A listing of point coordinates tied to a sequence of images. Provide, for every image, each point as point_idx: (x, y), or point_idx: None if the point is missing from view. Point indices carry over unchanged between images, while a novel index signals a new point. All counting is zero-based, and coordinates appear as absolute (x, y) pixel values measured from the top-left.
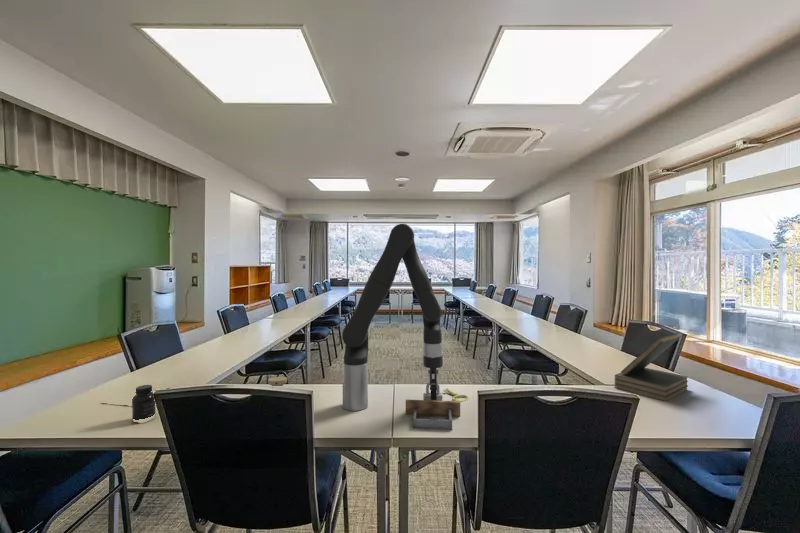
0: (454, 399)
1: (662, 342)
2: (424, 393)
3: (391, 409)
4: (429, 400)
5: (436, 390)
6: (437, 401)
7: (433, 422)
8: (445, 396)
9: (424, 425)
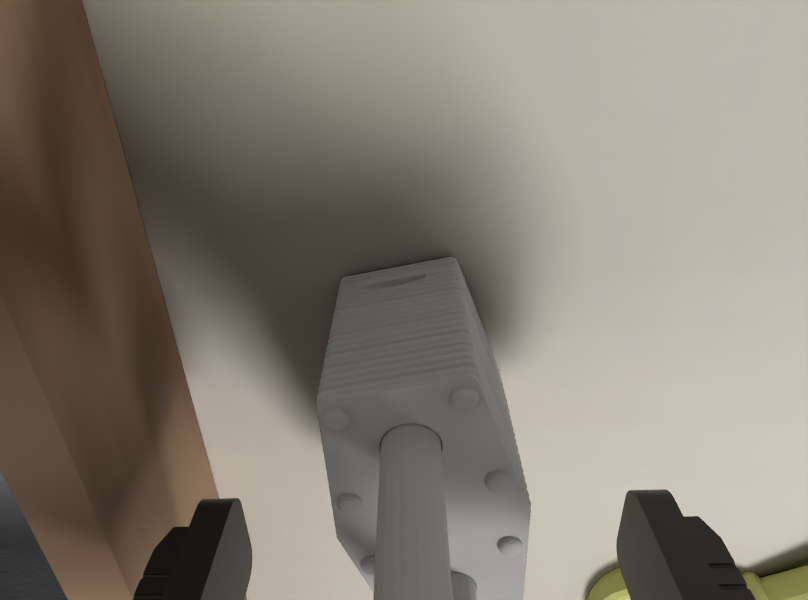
0: (621, 594)
1: None
2: (453, 402)
3: None
4: (76, 498)
5: (624, 574)
6: (86, 595)
7: None
8: (792, 499)
9: None
